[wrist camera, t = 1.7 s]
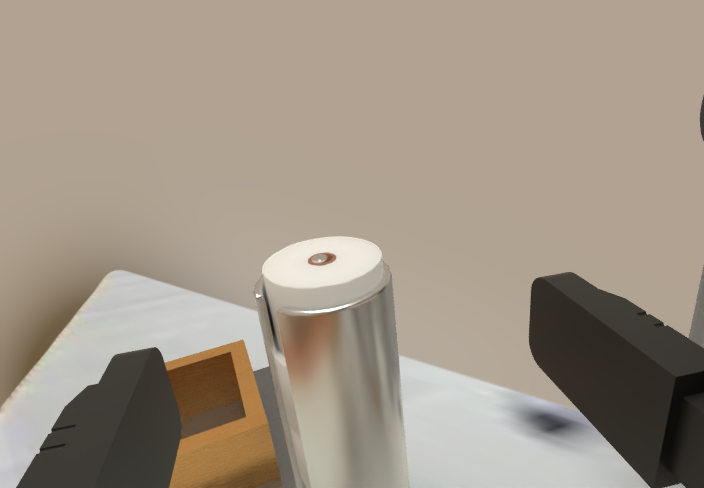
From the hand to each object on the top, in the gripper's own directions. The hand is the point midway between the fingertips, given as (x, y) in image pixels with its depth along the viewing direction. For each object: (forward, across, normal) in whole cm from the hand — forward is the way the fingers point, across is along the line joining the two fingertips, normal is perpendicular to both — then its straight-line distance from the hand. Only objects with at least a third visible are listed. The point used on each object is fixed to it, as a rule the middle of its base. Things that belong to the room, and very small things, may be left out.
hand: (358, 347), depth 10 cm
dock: (+26, +13, +27) cm, 40 cm away
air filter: (+11, 0, +28) cm, 30 cm away
